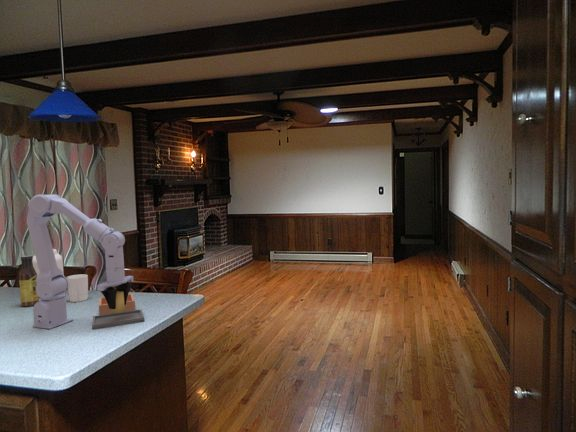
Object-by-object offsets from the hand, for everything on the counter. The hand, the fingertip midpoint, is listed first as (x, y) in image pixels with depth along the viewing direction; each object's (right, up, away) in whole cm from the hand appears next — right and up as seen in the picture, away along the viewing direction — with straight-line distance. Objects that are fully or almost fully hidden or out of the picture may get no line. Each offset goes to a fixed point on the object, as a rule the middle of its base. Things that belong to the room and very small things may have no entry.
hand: (117, 306), depth 142 cm
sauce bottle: (-46, -5, +26) cm, 53 cm away
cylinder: (0, -2, 0) cm, 2 cm away
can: (-48, -4, +42) cm, 64 cm away
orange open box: (-6, -4, +14) cm, 16 cm away
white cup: (-29, -4, +31) cm, 42 cm away
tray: (0, -5, 0) cm, 5 cm away
